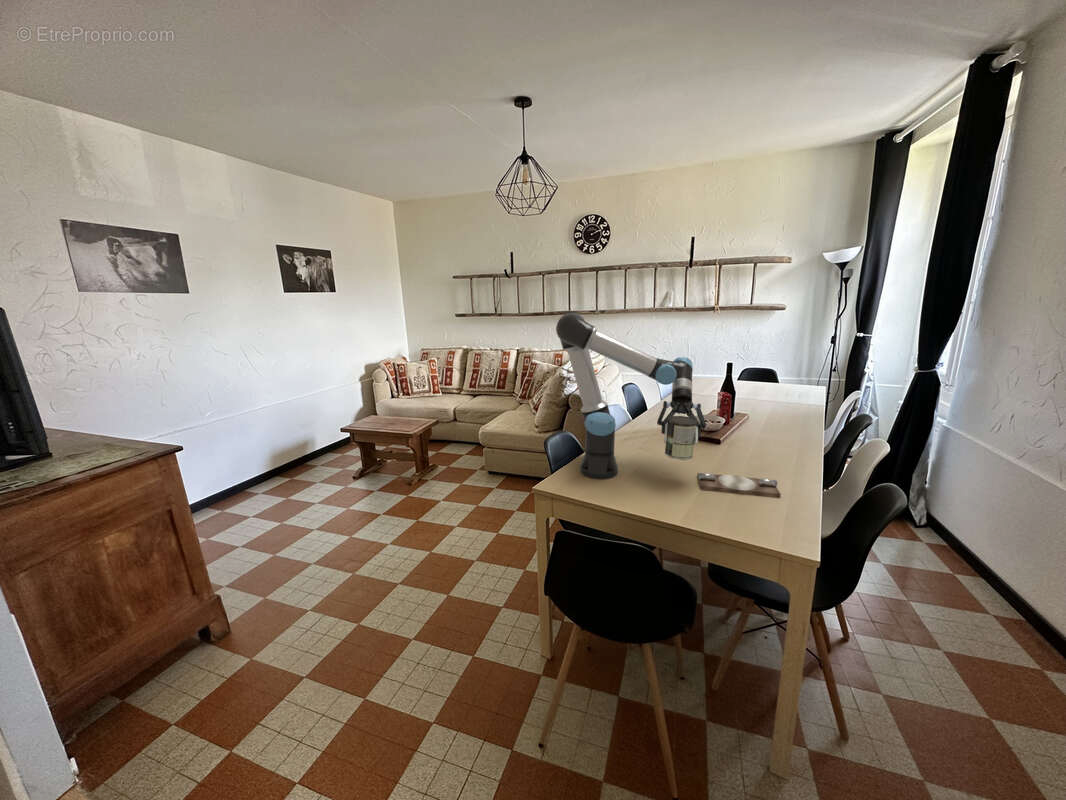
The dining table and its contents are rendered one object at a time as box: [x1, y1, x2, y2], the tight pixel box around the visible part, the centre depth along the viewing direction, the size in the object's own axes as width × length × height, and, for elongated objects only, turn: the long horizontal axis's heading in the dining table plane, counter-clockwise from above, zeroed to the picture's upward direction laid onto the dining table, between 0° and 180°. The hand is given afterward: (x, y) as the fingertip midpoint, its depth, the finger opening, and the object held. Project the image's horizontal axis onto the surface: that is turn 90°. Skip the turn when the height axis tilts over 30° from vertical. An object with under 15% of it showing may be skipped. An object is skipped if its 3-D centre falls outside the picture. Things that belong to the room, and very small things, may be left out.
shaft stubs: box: [698, 472, 778, 488], centre depth 152 cm, size 26×2×2 cm, turn 74°
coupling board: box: [696, 472, 781, 499], centre depth 152 cm, size 26×13×2 cm, turn 74°
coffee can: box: [664, 415, 698, 461], centre depth 154 cm, size 10×10×14 cm
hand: (680, 442), depth 151 cm, fingers closed on coffee can, 10 cm apart
